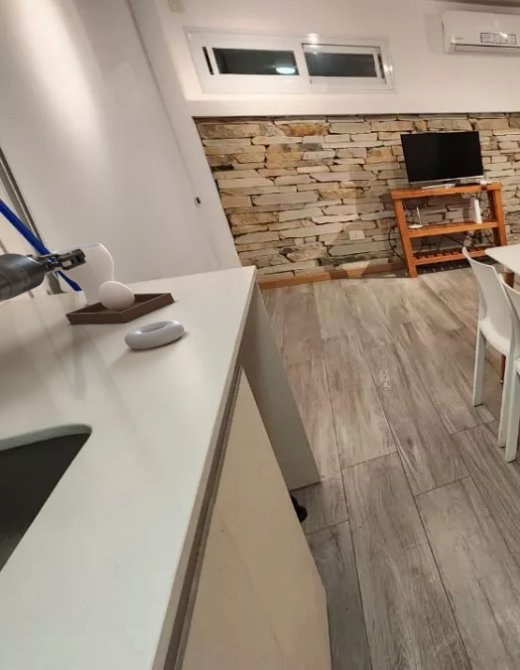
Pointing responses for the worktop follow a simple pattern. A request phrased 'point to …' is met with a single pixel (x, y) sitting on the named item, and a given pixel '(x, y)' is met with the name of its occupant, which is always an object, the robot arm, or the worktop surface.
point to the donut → (154, 334)
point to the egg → (115, 296)
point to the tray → (104, 315)
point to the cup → (91, 270)
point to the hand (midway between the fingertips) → (57, 256)
